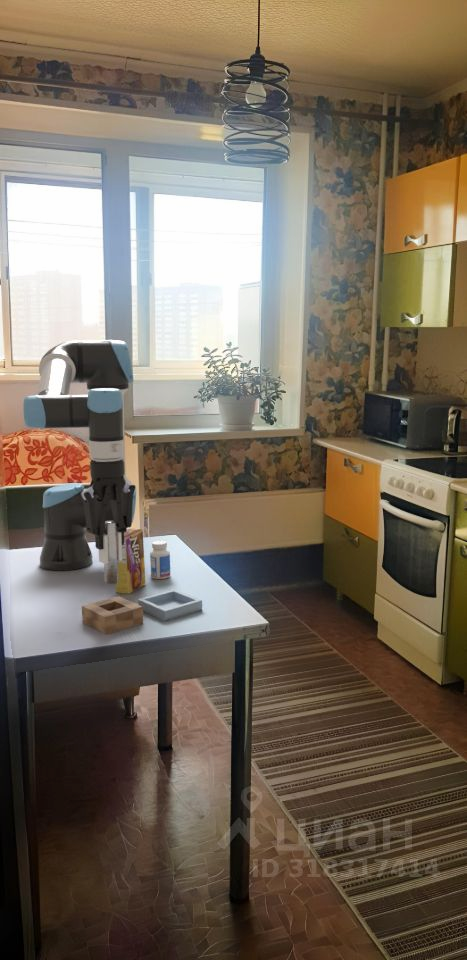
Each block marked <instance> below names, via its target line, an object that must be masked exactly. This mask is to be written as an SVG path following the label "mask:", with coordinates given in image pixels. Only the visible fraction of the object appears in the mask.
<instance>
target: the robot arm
mask: <svg viewBox="0 0 467 960" xmlns="http://www.w3.org/2000/svg"><path fill="white" fill-rule="evenodd" d="M129 349H130V347H129V345H128V344H127V343H126V341H123V340H114V339H100V340H99V339H98V340H77V339H73V340H66V341H63V342H61V343H58V344H57V345H55V346H54V347H52V348H50V349H49V350H48V351H46V352H45V354H44V355H43V356H42V358H41V360H40V362H39V366H38V373H39V378H40V379H39V383H38V387H37V391H36V394H34V395H27V396H25V397H24V398H23V410H22V411H23V421H24V425H25V426H26V427H27V428H28V429H40V430H44V429H68V428H69V429H72V428H73V429H75V428H77V429H79V428H81V429H82V428H88V433H89V436H88V439H89V440H88V441H89V444H88V445H89V450H88V451H89V457H90V458H91V460H90V461H89V469H90V473H89V474H90V477H91V481H90V484H89V487H88V488H85V486H84V484H83V483H80V482H78V483H77V482H76V483H75V482H72V483H64V484H59V485H55V486H53V487H49V488H47V489H46V490H45V491H44V492H43V495H42V498H43V499H42V508H43V525H44V542H43V546H42V548H41V552H40V554H39V555H40V556H39V567H41V568H42V569H46V570H48V571H72V570H73V571H74V570H79V569H83V568H86V567H88V566H90V565H92V563H93V553H92V550H91V548H90V545H89V543H88V539H87V537H86V532H87V533H89V534H92V535H94V537H95V538H94V539H95V540H94V541H95V549H97V550H98V562H100V563H102V564H103V565H104V564H108V538H107V535H105V534H104V530H105V521H116V531H117V560H119V561H121V560H122V545H123V544H124V532H126V531H127V530H128V528H131V527H132V524H133V522H134V520H135V512H136V503H137V486H136V485H135V484H132V481H131V479H129V477H127V473H126V471H127V470H126V442H125V441H126V439H125V432H126V431H125V405H124V402H125V401H124V400H125V398H124V395H125V393H126V392H128V390H129V383H133V382H134V374H133V373H134V372H133V367H132V366H133V365H132V362H131V361H132V360H131V355H130V350H129ZM71 383H73V384H74V383H79V384H86V390H87V392H88V393H87V394H70V390H71Z"/></svg>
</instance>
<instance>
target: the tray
mask: <svg viewBox="0 0 467 960" xmlns="http://www.w3.org/2000/svg"><path fill="white" fill-rule="evenodd" d="M137 604H138V605H140V606H142V607H143V613H146V614H149V616H150V615H151V616H153V617H154V618H157V619H159V620H161V621H163V622H168V621H171V620H174V619H178V618H181V617H184V616H187V615H191V614H194V613H197V612H202V611H203V600H202V599H200V598H197V597H195V596H192V595H189V594H187V593H185V592H181V591H179V590H177V589H171V590H168V591H163V592H160V593H156V594H153V595H148V596H146V597H142V598H138V599H137Z"/></svg>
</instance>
